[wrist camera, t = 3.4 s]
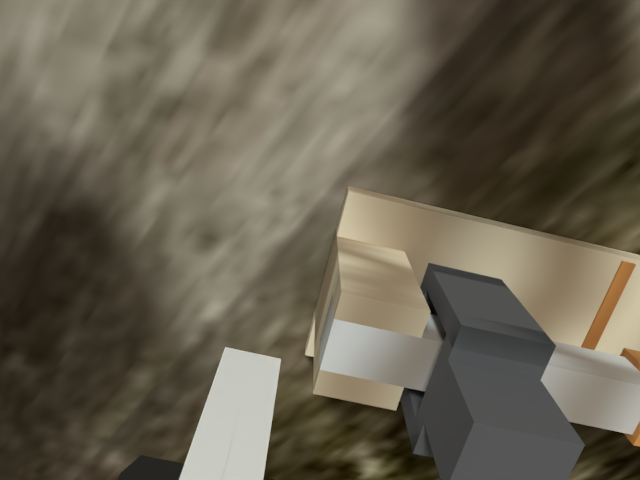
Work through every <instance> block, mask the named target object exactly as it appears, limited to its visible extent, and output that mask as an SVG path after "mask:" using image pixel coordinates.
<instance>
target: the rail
mask: <svg viewBox="0 0 640 480" xmlns="http://www.w3.org/2000/svg"><path fill="white" fill-rule="evenodd" d="M428 263H432V264H436V265H441V266H445V267H449V268H454V269H458V270H463V271H467V272H471V273H476V274H480V275H485V276H489V277H493V278H498V279H502V280H503V282H504V283H505V284H506V285H507V287H508V288H509V289H510V290H511V291H512V293H513V294H514V295H515V296H516V298H517V299H518V300H519V301H520V302H521V304H522V305H523V306H524V307H525V308H526V310H527V311H528V312H529V313H530V315H531V316H532V317H533V318H534V319H535V321H536V322H537V323H538V324H539V326H540V327H541V328H542V329H543V330H544V332H545V333H546V334H547V335H548V336H549V338H550V339H551V340H552V341H553V343H554V344H555V345H556V347H555V350H554V352H553V354H552V356H551V358H550V360H549V363H548V365H547V367H546V369H545V371H544V374H543V376H542V378H541V381H542V383H543V384H544V386H545V387H546V389H547V390H548V392H549V393H550V395H551V396H552V398H553V399H554V400H555V402H556V403H557V405H558V406H559V408H560V409H561V411H562V412H563V414H564V415H565V417H566V418H567V419H568V421H569V422H573V423H578V424H583V425H588V426H592V427H597V428H602V429H607V430H612V431H616V432H621V433H624V435H625V436H626V437H627V438H628V439H629V441H630V442H631V443H632V444H633V445H634V446H639V447H640V255H637V254H633V253H629V252H625V251H621V250H616V249H612V248H608V247H604V246H600V245H595V244H591V243H587V242H583V241H578V240H574V239H570V238H566V237H562V236H557V235H553V234H549V233H545V232H541V231H536V230H532V229H528V228H524V227H519V226H515V225H511V224H507V223H503V222H498V221H494V220H490V219H486V218H482V217H477V216H473V215H469V214H465V213H460V212H456V211H452V210H448V209H444V208H439V207H435V206H431V205H427V204H423V203H418V202H414V201H410V200H406V199H401V198H397V197H393V196H389V195H385V194H380V193H376V192H372V191H368V190H364V189H359V188H355V187H351V186H347V190H346V193H345V197H344V201H343V205H342V208H341V212H340V216H339V220H338V224H337V227H336V231H335V235H334V239H333V242H332V246H331V250H330V254H329V258H328V261H327V265H326V269H325V273H324V277H323V280H322V284H321V288H320V292H319V295H318V299H317V303H316V307H315V311H314V314H313V318H312V322H311V326H310V329H309V333H308V337H307V341H306V348H305V355H307V356H312V357H314V373H313V394H317V395H322V396H327V397H332V398H337V399H342V400H346V401H351V402H356V403H361V404H366V405H371V406H376V407H381V408H386V409H390V410H395V411H396V409H397V406H398V403H399V401H400V398H401V395H402V392H403V389H404V387H405V388H410V389H415V390H420V391H424V392H425V391H426V389H427V386H428V383H429V381H430V378H431V375H432V372H433V370H434V367H435V364H436V362H437V359H438V356H439V353H440V351H441V348H442V345H443V343H444V340H445V337H446V332H445V330H444V328H443V325H442V323H441V321H440V319H439V317H438V316H437V315H432V314H430V312H431V311H430V309H429V307H428V304H427V302H426V300H425V297H424V295H423V293H422V290H421V288H420V286H421V284H422V281H423V278H424V275H425V272H426V269H427V266H428Z"/></svg>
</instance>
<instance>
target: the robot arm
mask: <svg viewBox="0 0 640 480" xmlns="http://www.w3.org/2000/svg"><path fill="white" fill-rule="evenodd" d="M280 363H281V359H279V358H274V357H269V356H265V355H260V354H255V353H250V352H246V351H241V350H236V349H232V348H227V347H225V349H224V352H223V355H222V358H221V361H220V364H219V367H218V369H217V372H216V375H215V378H214V381H213V384H212V387H211V389H210V392H209V395H208V398H207V401H206V404H205V407H204V409H203V412H202V415H201V418H200V421H199V424H198V427H197V429H196V432H195V435H194V438H193V441H192V444H191V447H190V449H189V452H188V455H187V458H186V461H185V464H183V463H177V462H172V461H167V460H162V459H157V458H152V457H147V456H140V457H138V458H137V459H136V460H135V461H134V462H133V463H132V464H131V465H129V466H128V467H127V468H126V469H125V470H124V471H123V472H121V474H120V476H119V478H118V480H273V479H268V478H264V471H265V464H266V458H267V451H268V444H269V437H270V430H271V424H272V417H273V410H274V403H275V397H276V390H277V383H278V376H279V369H280Z"/></svg>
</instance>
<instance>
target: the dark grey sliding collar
mask: <svg viewBox="0 0 640 480" xmlns="http://www.w3.org/2000/svg"><path fill="white" fill-rule="evenodd" d="M420 288H421V290H422V293H423V295H424V297H425V300H426V302H427V304H428V307H429V309H430V311H431V312H430V314H432V315H437V316H438V317H439V319H440V321H441V323H442V325H443V328H444V330H445V332H446V337H445V340H444V343H443V345H442V348H441V351H440V353H439V356H438V359H437V362H436V364H435V367H434V370H433V372H432V375H431V378H430V381H429V383H428V386H427V389H426V391H425V392H424V391H420V390H415V389H410V388H405V387H404V389H403V392H402V395H401V398H400V400H401V405H402V409H403V413H404V418H405V422H406V426H407V431H408V435H409V439H410V444H411V448H412V452H413V454H418V455H423V456H428V457H433V458H434V459H435V463H436V466H437V470H438V474H439V477H440V480H567V479H568V477H569V475H570V473H571V471H572V469H573V467H574V466H575V464H576V462H577V460H578V458H579V456H580V454H581V452H582V450H583V448H584V446H585V444H584V443H583V441H582V440H581V438H580V437H579V436H578V434H577V433H576V431H575V430H574V428H573V427H572V425H571V424H570V422H569V421H568V419H567V418H566V417H565V415H564V414H563V412H562V411H561V409H560V408H559V406H558V405H557V403H556V402H555V400H554V399H553V398H552V396H551V395H550V393H549V392H548V390H547V389H546V387H545V386H544V384H543V383H542V381H541V378H542V376H543V374H544V371H545V369H546V367H547V365H548V363H549V360H550V358H551V356H552V354H553V352H554V350H555V347H556V345H555V344H554V343H553V341H552V340H551V339H550V338H549V336H548V335H547V334H546V333H545V332H544V330H543V329H542V328H541V327H540V326H539V324H538V323H537V322H536V321H535V319H534V318H533V317H532V316H531V315H530V313H529V312H528V311H527V310H526V308H525V307H524V306H523V305H522V304H521V302H520V301H519V300H518V299H517V298H516V296H515V295H514V294H513V293H512V291H511V290H510V289H509V288H508V287H507V285H506V284H505V283H504V282H503V280H502V279H498V278H493V277H489V276H485V275H480V274H476V273H471V272H467V271H463V270H458V269H454V268H449V267H445V266H441V265H436V264H432V263H428V266H427V269H426V272H425V275H424V278H423V281H422V284H421V286H420Z"/></svg>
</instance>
